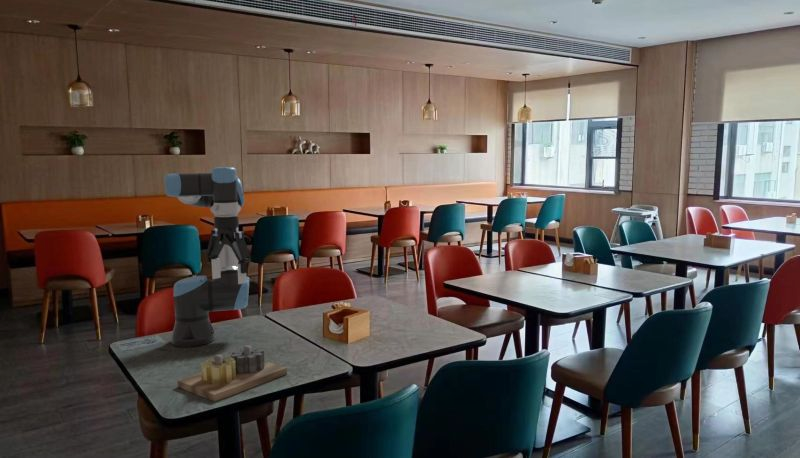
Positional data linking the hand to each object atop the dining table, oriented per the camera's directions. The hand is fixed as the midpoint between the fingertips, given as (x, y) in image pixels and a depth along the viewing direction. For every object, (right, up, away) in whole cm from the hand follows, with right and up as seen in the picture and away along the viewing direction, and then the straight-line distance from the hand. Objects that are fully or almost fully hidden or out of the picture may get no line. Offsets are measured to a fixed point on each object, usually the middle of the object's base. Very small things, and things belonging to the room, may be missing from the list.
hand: (229, 280), depth 195 cm
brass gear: (+2, -27, -19) cm, 33 cm away
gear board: (+5, -29, -15) cm, 33 cm away
